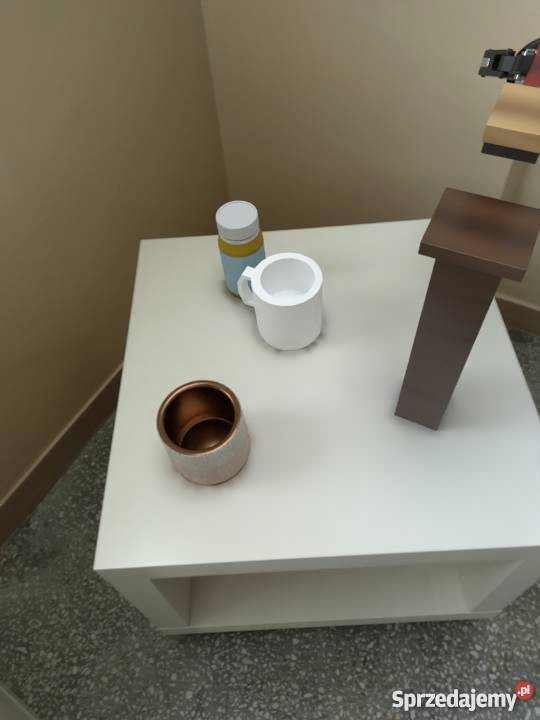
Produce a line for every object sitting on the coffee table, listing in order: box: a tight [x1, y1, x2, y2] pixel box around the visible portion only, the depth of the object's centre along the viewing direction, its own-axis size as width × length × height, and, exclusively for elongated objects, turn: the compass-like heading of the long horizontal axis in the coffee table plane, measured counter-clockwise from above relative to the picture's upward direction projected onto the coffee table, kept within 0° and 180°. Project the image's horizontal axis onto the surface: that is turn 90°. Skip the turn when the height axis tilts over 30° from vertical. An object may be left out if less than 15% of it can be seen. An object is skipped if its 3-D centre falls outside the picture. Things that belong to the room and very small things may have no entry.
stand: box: [394, 186, 540, 431], centre depth 61 cm, size 8×9×33 cm
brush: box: [480, 45, 540, 165], centre depth 49 cm, size 19×5×3 cm, turn 154°
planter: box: [155, 379, 251, 486], centre depth 69 cm, size 11×11×10 cm
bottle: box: [215, 200, 267, 298], centre depth 83 cm, size 7×7×15 cm
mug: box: [237, 252, 324, 351], centre depth 80 cm, size 14×10×11 cm
